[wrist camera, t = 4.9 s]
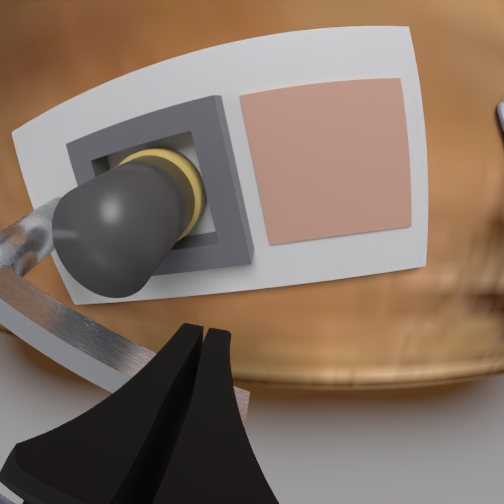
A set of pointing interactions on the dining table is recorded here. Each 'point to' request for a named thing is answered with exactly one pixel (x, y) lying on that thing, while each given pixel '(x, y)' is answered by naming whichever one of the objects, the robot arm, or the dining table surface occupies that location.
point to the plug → (127, 220)
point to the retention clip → (63, 313)
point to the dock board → (229, 157)
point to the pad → (330, 158)
